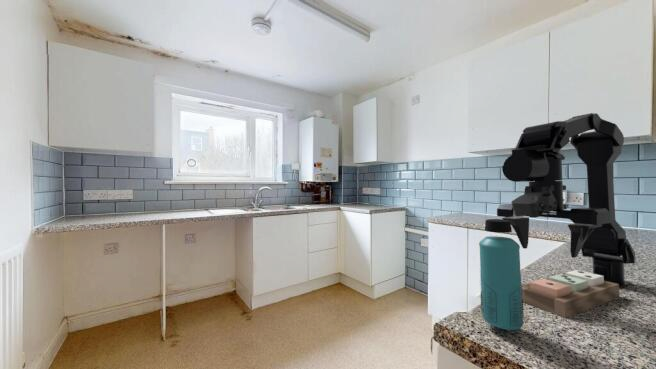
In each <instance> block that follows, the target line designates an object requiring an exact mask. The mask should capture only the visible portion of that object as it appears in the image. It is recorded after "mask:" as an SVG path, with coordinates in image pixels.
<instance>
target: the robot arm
mask: <svg viewBox="0 0 656 369" xmlns="http://www.w3.org/2000/svg"><path fill="white" fill-rule="evenodd" d="M592 130H594V131H592ZM624 142H625V137H624V133H623V132H622V131H621V129H620V128H619V127H618V125H617V124H616V123H615V122H611V121H608V120H605V119H603V118H602V117H601V116H600V115H599V114H598V113H594V112H593V113H592V112H591V113H586V114H582V115H575V116H572V117H571V118H568V119H565V120H563V121H562V120H560V121H559V120H558V121H553V122H547V123H542V124H537V125H533V126H527V127H525V128H524V129H523V130H522V133H521V135H520V136H519V139H518V141H517V143H516V145H515V148H514V149H511V155H510V156H508V157H507V158H506V159H505V161H504V162H503V165H502V168H501V170H502V174H503V176H504V178H506V179H507V180H509V181H511V182H515V183H517V182H519V183H521V182H524V183H528V185H525V187H524V193H523V194H522V195H519V196H518V197H516V198H515V199H513V200H512V201H511V202H510V203H509V204H508V203H507V204H500V205H499V206H498V207H497V208H496V216H497V217H502V219H503V220H509V221H510V222H511V228H512V229H513V230H514V232H515V234H516V236H517V238H518V242H519V243H520V245H521V247H522V249H528V245H529V237H530V236H529V234H530V232H529V231H530V218H534V219H535V218H540V217H541V218H553V219H554V218H555V219H564V220H566V219H567V220H570V221H571V222H572V223H570V224H569V223H568V224H567V226H568V229H569V231H570V256H571V258H573V259H575V258H577V257H578V255H579V254H580V252H581V253H582V254H581V255H582V257H584V258H585V257H587V258H591V260H592V262H591V263H592V273H593V274H597V275H602V276H604V281H608V282H612V283H616V284H619V289H621V288H625V287H628V286H630V285H632V282H631V281H627V280H625V265H628V264H631V265H632V264H633V265H634V264H636V253H635V250H634V248H633V247H632V245H631V243H630V241H629V239H628V238H627V236H626V235H627V234H626V233H627V232H626V230H625V229H624V228H623V227H622V226H621V224H619V223H618V221H617V220H616V209H615V187H614V186H615V185H614V170H613V169H614V167H613V164H614V163H615V161H616V160H617V159H618V157H619V156H620V155H621V154H622V146H624V144H625V143H624ZM569 143H570V144H571V145H572V146H573V147H574V149H575V150H576V152H577V156H578V158H579V159H580V160H581V161H582V162H583V163H584V165H585V166H586V178H587V180H586V181H587V197H588V198H587V200H588V207H585V206H582V207H574V208H570V209H568V208H567V207H568V206H567V203H564V191H566V190H567V185H566V184H565V185H563V162H562V161H564V160H566V157H565V156H564V154H562V153H561V152H560V151H561V150H562V149H563V148H564V147H566V146H567V145H568V144H569Z"/></svg>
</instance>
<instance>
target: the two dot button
mask: <svg viewBox="0 0 656 369" xmlns="http://www.w3.org/2000/svg"><path fill="white" fill-rule="evenodd" d="M565 275H566V276H571V277H575V278H579V279H583V280H587V281H588V285H589V286H593V287H594V286H597V285H600V284H603V283H604V276H602V275H597V274H593V272H589V271H588V272H587V271H583V270H578V269H575V270H571V271H567V272H565Z"/></svg>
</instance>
